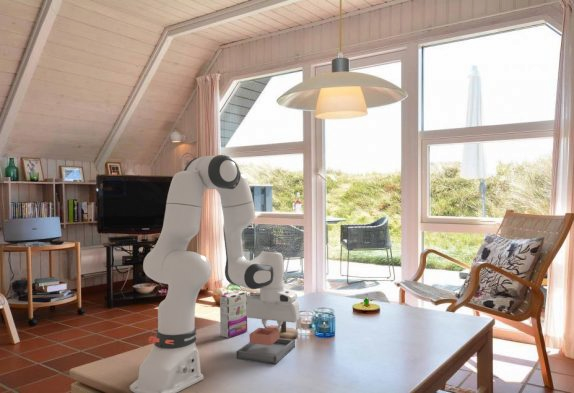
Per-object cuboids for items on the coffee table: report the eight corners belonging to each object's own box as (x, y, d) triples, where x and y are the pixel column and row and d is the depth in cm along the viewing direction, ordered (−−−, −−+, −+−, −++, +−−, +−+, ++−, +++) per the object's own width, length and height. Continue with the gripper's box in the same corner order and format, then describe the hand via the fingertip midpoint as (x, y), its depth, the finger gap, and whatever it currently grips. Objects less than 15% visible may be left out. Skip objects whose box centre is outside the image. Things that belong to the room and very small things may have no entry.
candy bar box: (238, 329, 190) (238, 290, 190) (247, 331, 187) (247, 291, 187) (219, 336, 181) (219, 294, 181) (228, 338, 178) (228, 296, 178)
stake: (291, 342, 174) (291, 308, 174) (265, 339, 178) (265, 305, 178) (301, 334, 184) (301, 301, 184) (276, 331, 188) (276, 299, 188)
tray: (275, 364, 151) (275, 356, 151) (236, 358, 157) (236, 351, 157) (295, 346, 169) (295, 340, 169) (258, 342, 174) (258, 335, 174)
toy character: (382, 311, 221) (382, 297, 221) (366, 316, 213) (366, 301, 213) (363, 307, 229) (363, 294, 229) (348, 311, 221) (348, 297, 221)
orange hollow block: (270, 345, 156) (270, 336, 156) (249, 342, 159) (249, 334, 158) (284, 334, 167) (283, 326, 167) (264, 332, 170) (263, 324, 170)
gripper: (242, 293, 168) (242, 331, 168) (295, 298, 161) (295, 337, 161) (250, 290, 174) (250, 326, 174) (300, 294, 167) (301, 332, 167)
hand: (272, 331), depth 167 cm, fingers closed on orange hollow block, 2 cm apart
